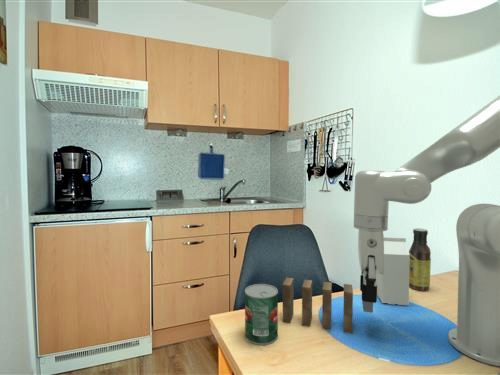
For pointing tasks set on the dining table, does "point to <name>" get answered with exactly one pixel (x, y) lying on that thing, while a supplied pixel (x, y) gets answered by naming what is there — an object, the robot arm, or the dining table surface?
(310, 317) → the walnut domino
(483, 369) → the dining table surface
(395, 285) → the milk carton
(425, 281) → the sauce bottle
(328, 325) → the walnut domino
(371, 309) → the charcoal domino
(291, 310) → the walnut domino
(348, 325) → the walnut domino
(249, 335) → the canned tomato
